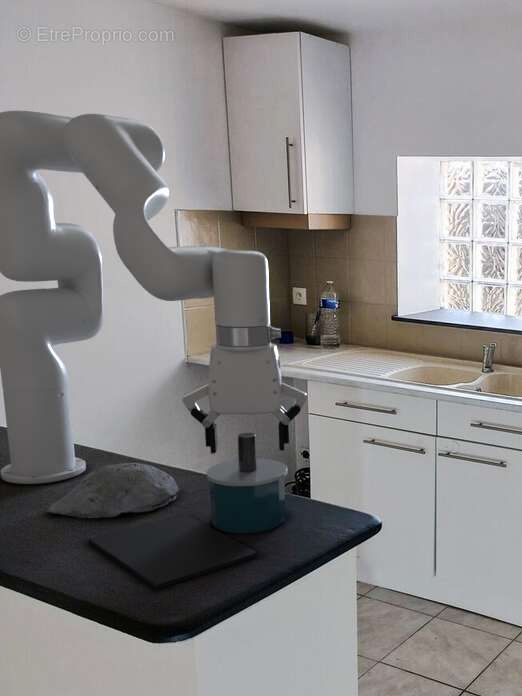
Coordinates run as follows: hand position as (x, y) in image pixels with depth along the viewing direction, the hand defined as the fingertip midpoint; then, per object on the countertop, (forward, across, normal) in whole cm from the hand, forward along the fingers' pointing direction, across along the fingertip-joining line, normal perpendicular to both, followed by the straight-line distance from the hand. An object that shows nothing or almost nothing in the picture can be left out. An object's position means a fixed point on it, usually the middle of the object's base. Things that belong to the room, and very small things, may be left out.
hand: (248, 449), depth 120 cm
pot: (+11, 0, 0) cm, 11 cm away
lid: (+4, 0, 0) cm, 4 cm away
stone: (+11, +20, -12) cm, 26 cm away
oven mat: (+11, +10, +9) cm, 18 cm away
